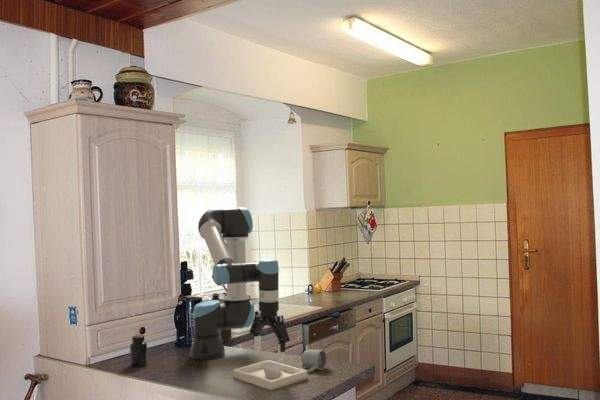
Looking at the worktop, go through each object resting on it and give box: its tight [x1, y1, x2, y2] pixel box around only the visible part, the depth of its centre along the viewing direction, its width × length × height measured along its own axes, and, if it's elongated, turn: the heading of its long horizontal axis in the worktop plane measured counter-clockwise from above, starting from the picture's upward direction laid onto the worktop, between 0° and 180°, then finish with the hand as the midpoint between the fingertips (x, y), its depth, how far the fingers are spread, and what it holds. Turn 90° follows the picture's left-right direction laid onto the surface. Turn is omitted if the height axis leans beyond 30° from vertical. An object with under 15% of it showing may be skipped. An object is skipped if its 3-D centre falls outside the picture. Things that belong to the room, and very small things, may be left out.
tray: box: [232, 359, 308, 391], centre depth 212 cm, size 22×18×3 cm
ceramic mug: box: [300, 348, 328, 374], centre depth 222 cm, size 11×8×8 cm
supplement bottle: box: [129, 334, 148, 368], centre depth 233 cm, size 7×7×12 cm
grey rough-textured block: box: [264, 360, 282, 379], centre depth 212 cm, size 10×6×6 cm, turn 169°
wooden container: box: [202, 292, 232, 341], centre depth 280 cm, size 15×15×22 cm
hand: (269, 356), depth 212 cm, fingers open, 13 cm apart
